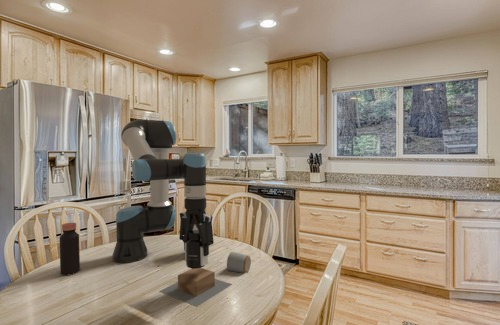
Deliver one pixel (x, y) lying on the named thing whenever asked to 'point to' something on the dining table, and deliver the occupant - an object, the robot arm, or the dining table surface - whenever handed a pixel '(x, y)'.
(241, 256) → the ceramic mug
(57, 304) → the dining table surface
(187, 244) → the supplement bottle
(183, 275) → the walnut block
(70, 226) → the vinegar
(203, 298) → the mat
